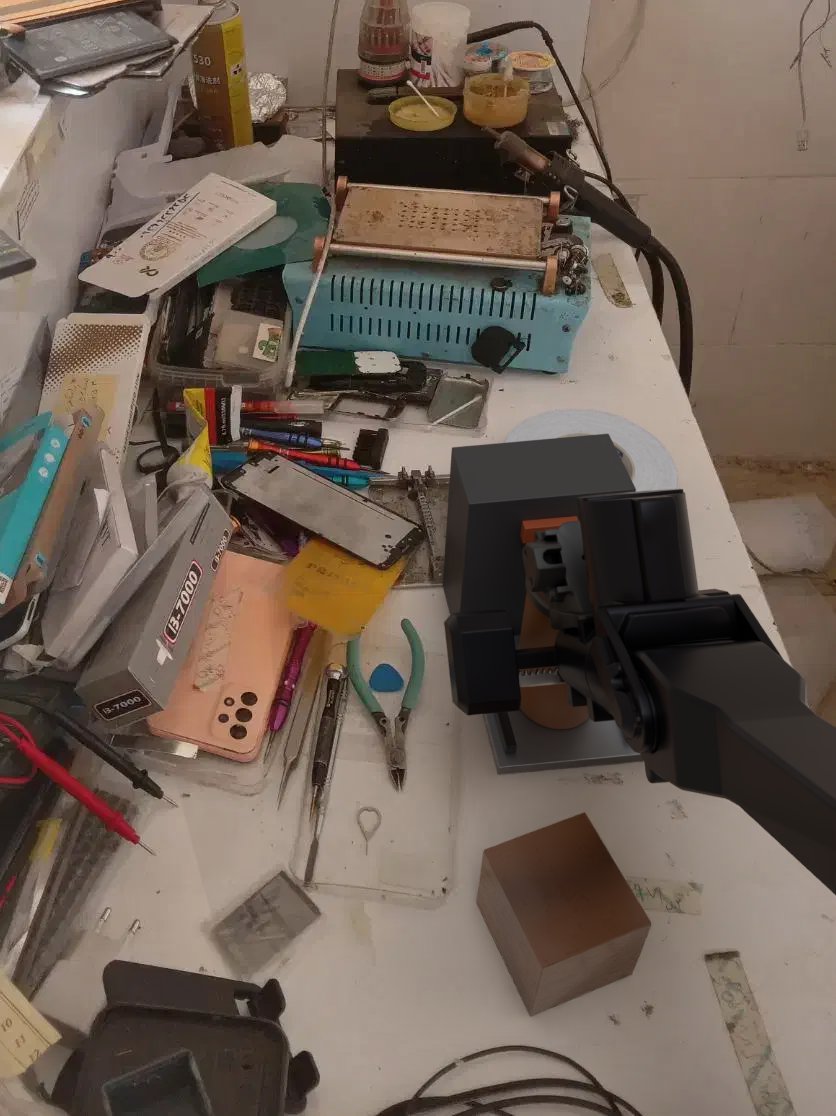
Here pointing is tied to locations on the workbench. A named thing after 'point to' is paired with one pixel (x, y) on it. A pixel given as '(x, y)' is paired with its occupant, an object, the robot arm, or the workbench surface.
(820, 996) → the workbench surface
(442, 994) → the workbench surface
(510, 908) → the brown cube
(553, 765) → the drip pan
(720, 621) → the robot arm
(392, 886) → the workbench surface
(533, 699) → the carafe
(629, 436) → the tape roll
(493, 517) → the coffee maker
